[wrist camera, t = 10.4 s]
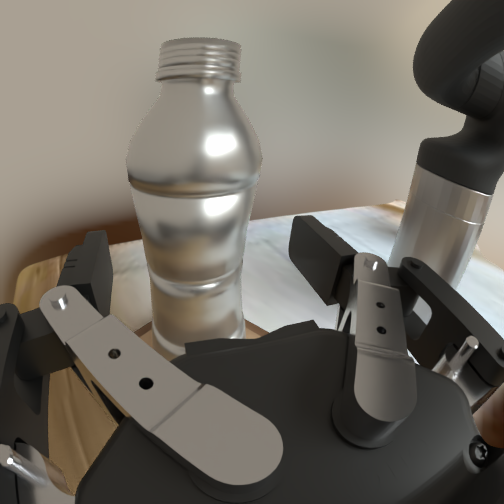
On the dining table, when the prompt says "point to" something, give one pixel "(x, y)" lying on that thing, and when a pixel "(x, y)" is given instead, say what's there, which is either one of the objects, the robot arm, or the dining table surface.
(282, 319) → the dining table surface
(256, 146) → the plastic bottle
